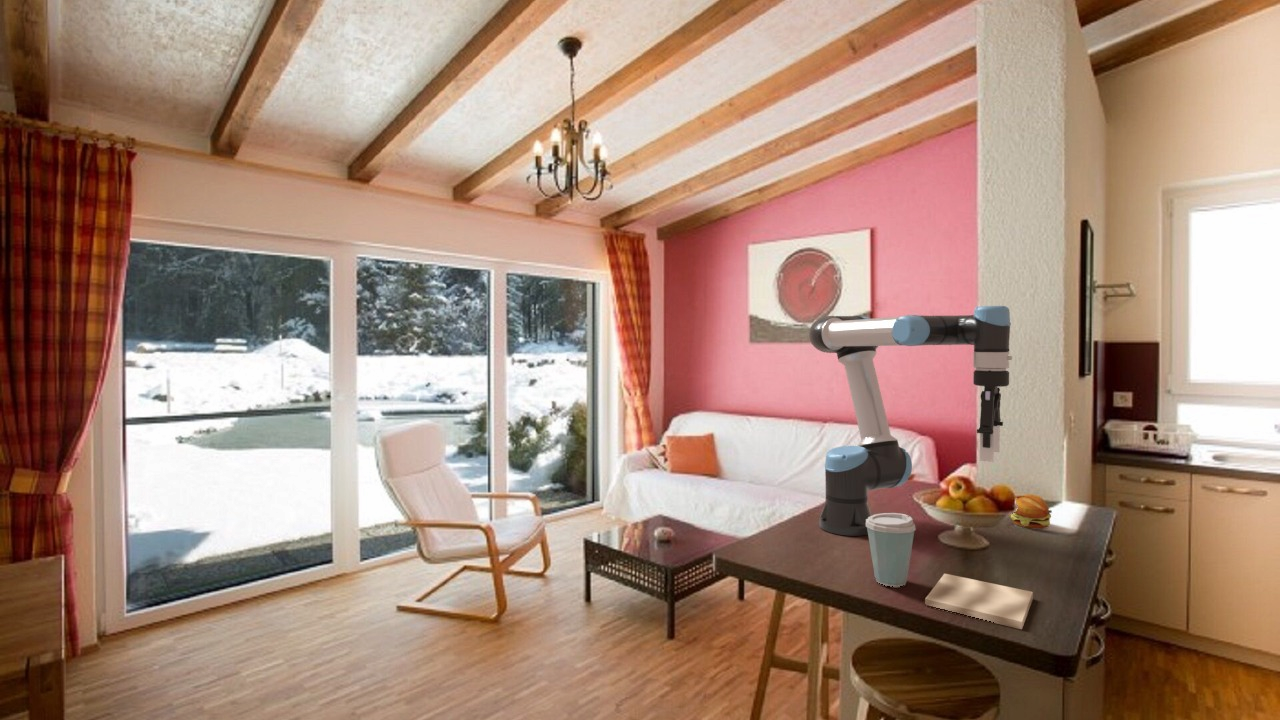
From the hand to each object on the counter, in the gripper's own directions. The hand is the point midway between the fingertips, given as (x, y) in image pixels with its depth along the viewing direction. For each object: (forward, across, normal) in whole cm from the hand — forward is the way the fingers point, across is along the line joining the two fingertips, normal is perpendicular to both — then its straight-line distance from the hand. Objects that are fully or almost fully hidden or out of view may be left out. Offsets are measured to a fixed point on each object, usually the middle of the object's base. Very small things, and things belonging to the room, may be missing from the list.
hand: (989, 456), depth 148 cm
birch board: (+26, -28, -1) cm, 38 cm away
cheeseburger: (+27, +39, -7) cm, 48 cm away
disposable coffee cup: (+26, -26, +17) cm, 41 cm away
